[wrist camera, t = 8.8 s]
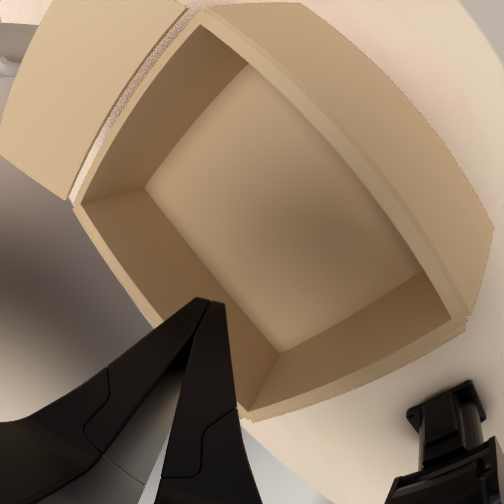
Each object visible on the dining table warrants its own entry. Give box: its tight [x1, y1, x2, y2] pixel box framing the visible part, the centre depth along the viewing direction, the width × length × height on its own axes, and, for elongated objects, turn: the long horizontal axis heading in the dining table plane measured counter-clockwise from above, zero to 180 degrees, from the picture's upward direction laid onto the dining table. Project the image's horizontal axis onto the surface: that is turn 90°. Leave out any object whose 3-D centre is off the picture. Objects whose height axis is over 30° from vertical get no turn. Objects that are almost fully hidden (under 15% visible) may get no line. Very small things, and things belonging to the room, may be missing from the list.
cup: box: [0, 23, 38, 77], centre depth 19 cm, size 7×10×9 cm
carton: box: [73, 2, 494, 423], centre depth 16 cm, size 22×22×7 cm
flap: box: [0, 0, 189, 200], centre depth 11 cm, size 7×13×1 cm
